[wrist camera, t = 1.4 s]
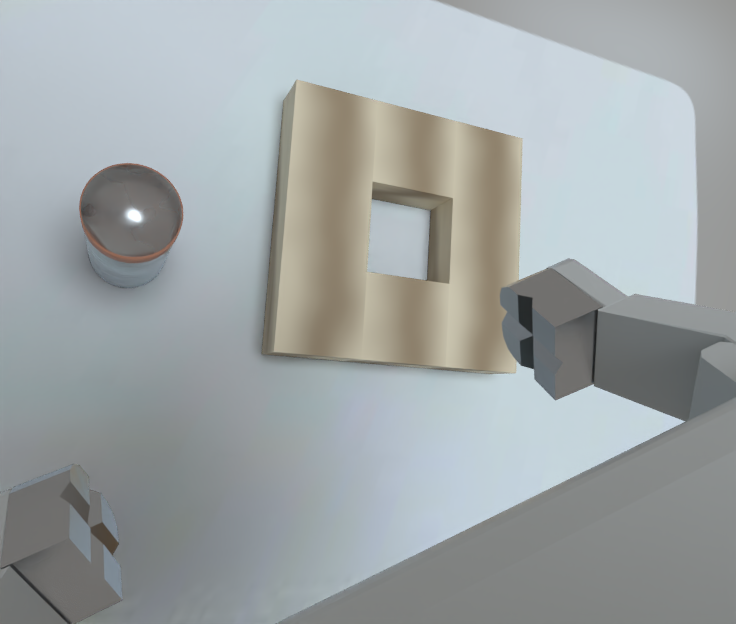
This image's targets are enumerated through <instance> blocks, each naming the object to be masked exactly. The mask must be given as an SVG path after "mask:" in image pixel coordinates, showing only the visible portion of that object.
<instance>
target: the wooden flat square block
mask: <svg viewBox="0 0 736 624" xmlns="http://www.w3.org/2000/svg"><path fill="white" fill-rule="evenodd" d="M521 175H522V138H518V137H515V136H511V135H507V134H503V133H499V132H495V131H492V130H488V129H484V128H480V127H476V126H472V125H469V124H465V123H461V122H457V121H453V120H449V119H446V118H442V117H438V116H434V115H430V114H426V113H423V112H419V111H415V110H411V109H407V108H403V107H400V106H396V105H392V104H388V103H384V102H380V101H377V100H373V99H369V98H365V97H361V96H357V95H354V94H350V93H346V92H342V91H338V90H335V89H331V88H327V87H323V86H319V85H315V84H312V83H308V82H304V81H300V80H296V81H295V83H294V85H293V86H292V88H291V90H290V91H289V93H288V95H287V96H286V98H285V100H284V101H283V112H282V124H281V136H280V147H279V159H278V170H277V182H276V193H275V205H274V216H273V228H272V239H271V251H270V263H269V274H268V286H267V297H266V309H265V320H264V332H263V343H262V354H266V355H278V356H289V357H301V358H312V359H324V360H336V361H347V362H359V363H370V364H382V365H393V366H405V367H416V368H428V369H439V370H451V371H462V372H474V373H485V374H504V373H516V360H515V358H514V357H513V356H512V354H511V353H510V351H509V350H508V348H507V345H506V343H505V340H504V337H503V331H502V321H503V319H504V317H505V315H506V313H507V311H506V310H505V309H504V308H503V307H502V306H501V305H500V292H501V288H502V287H504V286H507V285H509V284H511V283H514V282H516V281H518V280H519V247H520V211H521ZM372 199H376V200H381V201H386V202H391V203H396V204H401V205H407V206H412V207H417V208H422V209H427V210H431V215H430V235H429V256H428V276H427V281H426V280H419V279H412V278H406V277H399V276H392V275H385V274H378V273H372V272H367V263H368V247H369V232H370V216H371V200H372Z"/></svg>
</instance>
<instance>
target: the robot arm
mask: <svg viewBox="0 0 736 624" xmlns="http://www.w3.org/2000/svg"><path fill="white" fill-rule="evenodd" d="M500 305H501V306H502V307H503V308H504V309H505V310H506V311H507V313H506V315H505V317H504V319H503V321H502V331H503V337H504V340H505V343H506V345H507V348H508V350H509V351H510V353H511V354H512V356H513V357H514V358H515V360H516V361H517V362H518V363H519V364H520V365H521V366H525V367H528V368H532V369H534V379H535V380H536V381H537V382H538V383H539V384H540V385H541V386H542V387H543V388H544V389H545V391H546V392H547V393H548V394H549V395H550V396H551V397H552V398H553V399H554V400H557V399H560V398H562V397H564V396H567V395H569V394H571V393H574V392H576V391H578V390H581V389H583V388H585V387H588V386H590V385H592V384H594V386H595V387H598V388H600V389H603V390H606V391H608V392H611V393H613V394H616V395H618V396H621V397H624V398H626V399H629V400H631V401H634V402H637V403H639V404H642V405H644V406H647V407H650V408H652V409H655V410H657V411H660V412H663V413H665V414H668V415H670V416H673V417H675V418H678V419H681V420H683V421H686V422H684V423H682V424H680V425H678V426H676V427H674V428H672V429H670V430H668V431H666V432H664V433H662V434H660V435H658V436H656V437H654V438H652V439H649V440H647V441H645V442H643V443H641V444H639V445H637V446H635V447H633V448H631V449H629V450H627V451H625V452H623V453H621V454H619V455H617V456H615V457H613V458H611V459H609V460H607V461H605V462H603V463H601V464H599V465H597V466H595V467H593V468H591V469H589V470H586V471H584V472H582V473H580V474H578V475H576V476H574V477H572V478H570V479H568V480H566V481H564V482H562V483H560V484H558V485H556V486H554V487H552V488H550V489H548V490H546V491H544V492H542V493H540V494H538V495H536V496H534V497H532V498H530V499H528V500H526V501H524V502H522V503H520V504H518V505H516V506H514V507H512V508H509V509H507V510H505V511H503V512H501V513H499V514H497V515H495V516H493V517H491V518H489V519H487V520H485V521H483V522H481V523H479V524H477V525H475V526H473V527H471V528H469V529H467V530H465V531H463V532H461V533H459V534H457V535H455V536H453V537H451V538H449V539H447V540H445V541H443V542H441V543H438V544H436V545H434V546H432V547H430V548H428V549H426V550H424V551H422V552H420V553H418V554H416V555H414V556H412V557H410V558H408V559H406V560H404V561H402V562H400V563H398V564H396V565H394V566H392V567H390V568H388V569H386V570H384V571H382V572H380V573H378V574H376V575H373V576H371V577H369V578H367V579H365V580H363V581H361V582H359V583H357V584H355V585H353V586H351V587H349V588H347V589H345V590H343V591H341V592H339V593H337V594H335V595H333V596H331V597H329V598H327V599H325V600H323V601H321V602H319V603H317V604H315V605H313V606H311V607H308V608H306V609H304V610H302V611H300V612H298V613H296V614H294V615H292V616H290V617H288V618H286V619H284V620H282V621H280V622H278V623H276V624H736V312H733V311H728V310H722V309H716V308H711V307H705V306H700V305H694V304H688V303H683V302H677V301H672V300H666V299H660V298H655V297H649V296H644V295H638V294H633V295H631V296H629V297H628V296H626V295H625V294H624V293H622V292H621V291H619V290H618V289H616V288H615V287H614V286H612V285H611V284H609V283H608V282H606V281H605V280H604V279H602V278H601V277H599V276H598V275H596V274H595V273H593V272H592V271H591V270H589V269H588V268H586V267H585V266H583V265H582V264H581V263H579V262H578V261H576V260H574V259H566V260H564V261H562V262H559V263H557V264H555V265H553V266H550V267H548V268H546V269H545V270H542V271H540V272H537V273H535V274H533V275H530V276H528V277H526V278H523V279H521V280H518V281H516V282H514V283H511V284H509V285H507V286H504V287H502V288H501V292H500ZM118 545H119V538H118V529H117V525H116V522H115V518H114V515H113V512H112V510H111V508H110V506H109V504H108V502H107V501H106V499H105V498H104V497H103V495H102V494H101V493H99V492H96V491H92V490H89V476H88V475H87V474H86V473H85V471H84V470H83V469H82V468H81V467H80V465H77V464H72V465H69V466H67V467H64V468H61V469H59V470H56V471H54V472H51V473H49V474H46V475H43V476H41V477H38V478H36V479H33V480H31V481H28V482H25V483H23V484H20V485H18V486H15V487H13V488H12V489H9V490H6V491H4V492H1V493H0V624H75V623H77V622H79V621H81V620H83V619H85V618H87V617H89V616H91V615H93V614H95V613H97V612H99V611H101V610H103V609H105V608H107V607H109V606H111V605H113V604H115V603H118V602H120V601H122V583H121V566H120V565H119V563H118V562H117V561H116V559H115V558H114V557H113V556H112V555H113V553H114V552H115V550H116V548H117V546H118Z"/></svg>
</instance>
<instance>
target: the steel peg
mask: <svg viewBox="0 0 736 624" xmlns="http://www.w3.org/2000/svg"><path fill="white" fill-rule="evenodd" d="M79 210H80V218H81V223H82V227H83V230H84V232H85V238H86V244H87V249H88V255H89V259H90V263H91V265H92V267H93V269H94V270H95V272H96V273H97V274H98V275H99V276H100V277H101V278H102V279H103V280H105V281H106V282H108V283H110V284H112V285H115V286H118V287H123V288H134V287H139V286H142V285H145V284H147V283H149V282H150V281H152V280H153V279H154V278H155V277H156V276H157V275H158V274H159V272H160V271H161V269H162V267H163V265H164V263H165V260H166V258H167V256H168V254H169V251H170V249H171V247H172V245H173V243H174V242H175V240H176V238H177V236H178V234H179V231H180V229H181V226H182V221H183V206H182V202H181V199H180V196H179V194H178V192H177V190H176V189H175V187H174V186H173V185H172V183H171V182H170V181H169V180H168V179H167V178H166V177H164V176H163V175H162V174H160V173H159V172H157V171H156V170H154V169H152V168H149V167H147V166H143V165H139V164H132V163H124V164H117V165H112V166H110V167H107V168H105V169H103V170H101V171H99V172H98V173H97V174H95V175H94V176H93V177H92V178H91V179H90V180H89V181H88V183H87V184H86V186H85V188H84V189H83V192H82V194H81V198H80V206H79Z"/></svg>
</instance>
